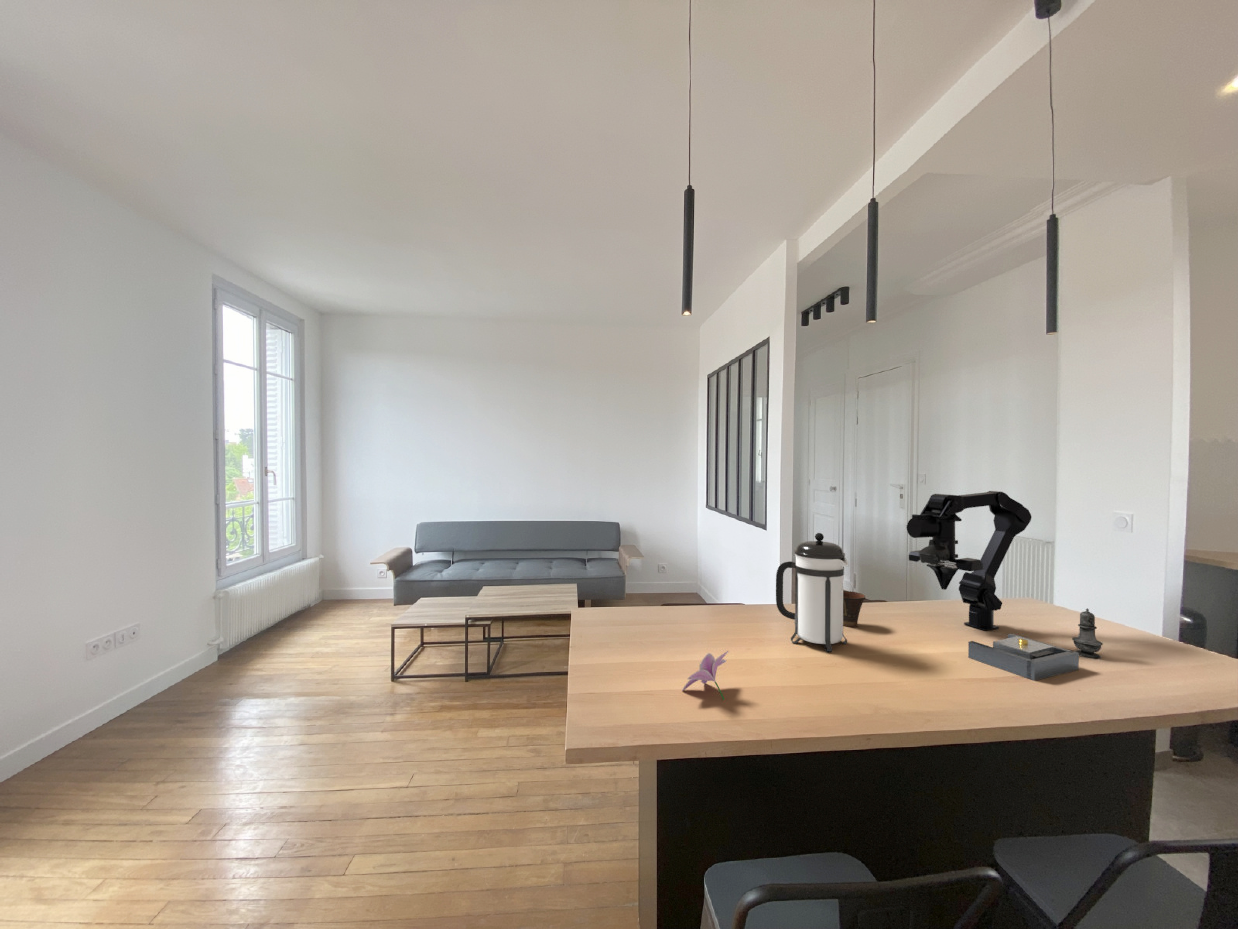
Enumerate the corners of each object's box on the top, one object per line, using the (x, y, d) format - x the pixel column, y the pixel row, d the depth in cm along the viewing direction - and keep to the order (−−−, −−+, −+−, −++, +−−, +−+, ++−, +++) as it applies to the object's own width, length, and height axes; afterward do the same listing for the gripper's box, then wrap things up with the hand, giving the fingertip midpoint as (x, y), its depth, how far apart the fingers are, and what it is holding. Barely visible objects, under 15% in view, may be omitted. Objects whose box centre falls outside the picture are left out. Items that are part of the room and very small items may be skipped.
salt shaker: (1075, 656, 130) (1076, 609, 130) (1068, 649, 135) (1068, 604, 135) (1106, 661, 127) (1106, 612, 127) (1098, 653, 132) (1098, 607, 132)
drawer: (1016, 655, 131) (1016, 632, 131) (1057, 668, 123) (1057, 643, 123) (992, 661, 127) (993, 637, 127) (1033, 675, 119) (1033, 649, 119)
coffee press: (836, 633, 146) (837, 529, 146) (857, 654, 130) (857, 537, 130) (775, 631, 148) (775, 528, 148) (787, 651, 132) (788, 536, 132)
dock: (1011, 648, 135) (1011, 633, 135) (1078, 669, 121) (1078, 652, 121) (968, 657, 129) (968, 641, 129) (1034, 680, 115) (1034, 663, 115)
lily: (734, 687, 113) (716, 645, 116) (754, 688, 102) (733, 641, 105) (687, 711, 110) (669, 666, 113) (702, 714, 99) (682, 665, 102)
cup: (875, 627, 150) (870, 593, 150) (844, 631, 150) (839, 597, 150) (861, 619, 158) (856, 587, 159) (832, 623, 159) (828, 591, 159)
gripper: (896, 534, 156) (896, 585, 156) (959, 543, 139) (959, 600, 139) (920, 532, 160) (920, 581, 160) (983, 540, 143) (984, 595, 143)
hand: (944, 589), depth 151 cm, fingers closed
